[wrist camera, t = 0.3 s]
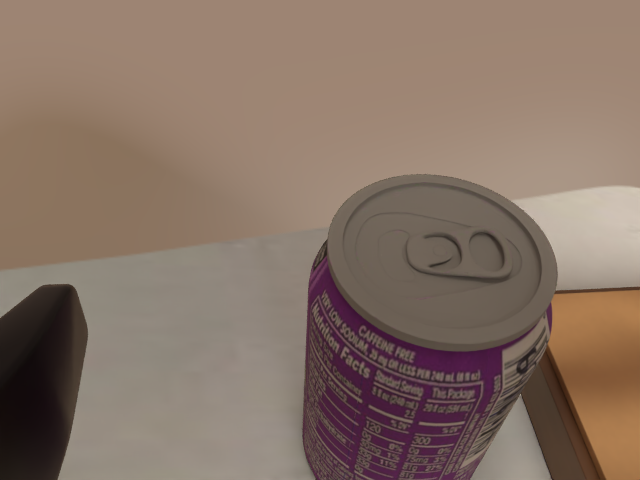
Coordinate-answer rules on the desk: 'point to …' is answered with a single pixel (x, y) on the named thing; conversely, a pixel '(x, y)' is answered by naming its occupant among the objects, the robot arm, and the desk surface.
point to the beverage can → (421, 328)
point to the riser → (589, 386)
